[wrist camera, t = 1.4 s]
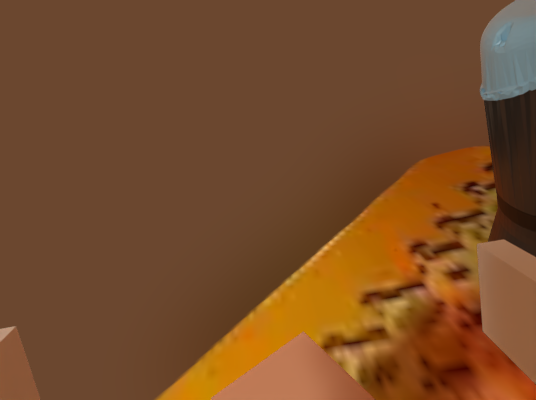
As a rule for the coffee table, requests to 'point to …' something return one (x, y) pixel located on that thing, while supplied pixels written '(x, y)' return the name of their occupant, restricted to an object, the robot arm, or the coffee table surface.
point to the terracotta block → (295, 377)
